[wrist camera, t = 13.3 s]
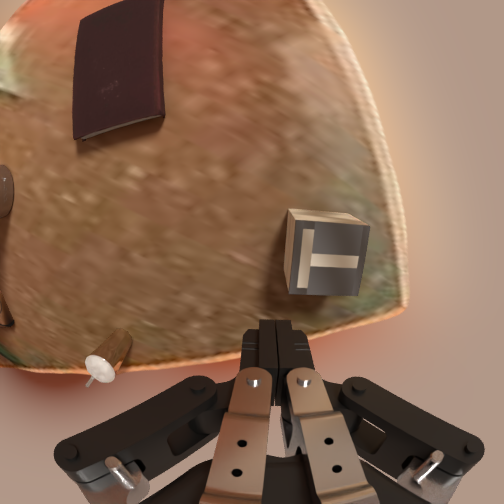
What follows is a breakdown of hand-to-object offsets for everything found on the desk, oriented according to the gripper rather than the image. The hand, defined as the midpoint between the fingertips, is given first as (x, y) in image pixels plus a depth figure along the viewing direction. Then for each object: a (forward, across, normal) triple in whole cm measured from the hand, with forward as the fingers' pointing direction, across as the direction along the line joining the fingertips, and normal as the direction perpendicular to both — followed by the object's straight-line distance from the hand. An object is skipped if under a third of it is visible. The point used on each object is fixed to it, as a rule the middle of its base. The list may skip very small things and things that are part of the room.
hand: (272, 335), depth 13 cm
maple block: (+12, -6, 0) cm, 13 cm away
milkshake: (+19, +21, +16) cm, 33 cm away
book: (+20, +19, -23) cm, 36 cm away
